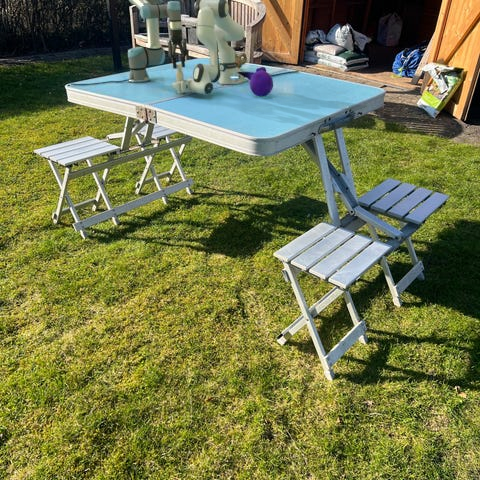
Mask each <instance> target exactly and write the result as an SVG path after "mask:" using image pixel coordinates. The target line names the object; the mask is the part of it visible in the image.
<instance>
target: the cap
mask: <svg viewBox="0 0 480 480" xmlns="http://www.w3.org/2000/svg"><path fill="white" fill-rule="evenodd" d="M176 67H177V68H178V69H179V68H181V69H183V67H182V64H181V63H176Z"/></svg>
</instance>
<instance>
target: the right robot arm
mask: <svg viewBox="0 0 480 480" xmlns="http://www.w3.org/2000/svg"><path fill="white" fill-rule="evenodd" d="M229 6H230V5H229V2H228V1H227V0H196V1H195V2H194V6H193V11H194V14H195V16H196V18H197V19H196V27H195V28H196V29H195V31H196V34H195V35H196V38H197V39H198V41H199V42H200V43H201V44H203V46H205V48H206V49H207V50H208V54H209V64H205V63H197V64H196V65H195V66H194V68H193V72H192V76H193V77H189V78H187V79H184V81H179V82H176V81H174V82H172V89H173V90H176V91H177V90H179V91H182V92H185V93H193V94H194V93H195V94H199V95H209V94H211V93H212V91H213V90H214V84H215V83H217V82H218V84H220V85H240V84H243V83H246V82H248V78H246V77H244V76H242V75H240V74H239V73H237V72H243V70H241V68H240V69H239V68H238V67H237V65H239V64H240V63H239V62H235V52H236V50H235V49H234V48H233V47H232V46H230V45H229V44H228V42H239V41H242V40H243V39H244V38H245V35H246V30H245V28H244V26H243V25H242V24H240V23H238V22H236V21H235V20H234V19H233V18H232V17H231V15H230V13H229V10H230V7H229ZM299 72H300V70H293V71H285V72H280V73H275V74H270V76H271V77H276V76H280V75H286V74H293V73H299Z"/></svg>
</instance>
